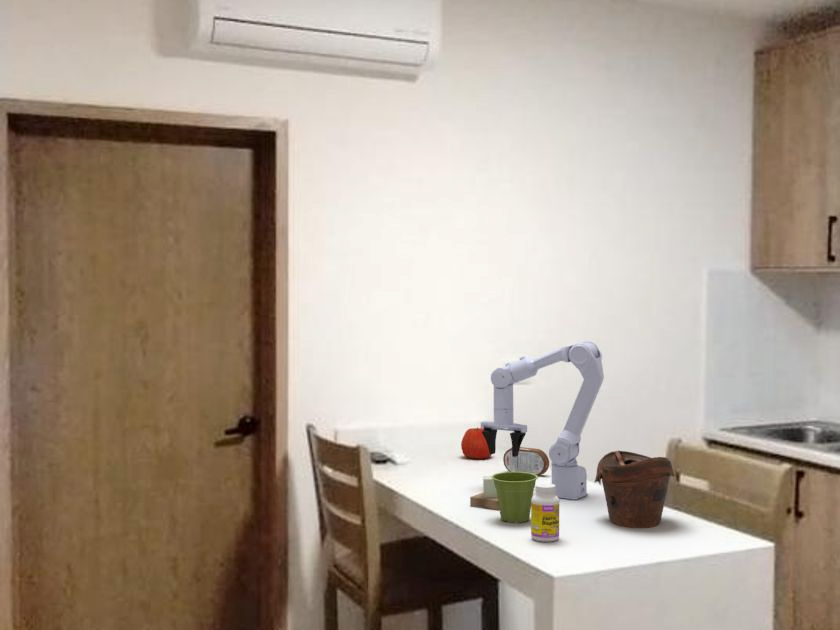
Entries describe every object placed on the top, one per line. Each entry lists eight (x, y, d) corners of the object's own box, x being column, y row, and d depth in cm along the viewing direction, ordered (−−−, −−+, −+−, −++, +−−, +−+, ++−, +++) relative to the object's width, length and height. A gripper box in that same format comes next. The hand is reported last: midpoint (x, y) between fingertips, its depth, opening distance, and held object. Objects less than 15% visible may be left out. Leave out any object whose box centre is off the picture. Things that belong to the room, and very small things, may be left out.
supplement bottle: (540, 543, 233) (540, 489, 232) (526, 537, 239) (525, 483, 238) (564, 540, 236) (564, 486, 235) (550, 534, 242) (550, 481, 241)
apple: (459, 460, 337) (459, 429, 337) (463, 454, 348) (463, 424, 347) (491, 461, 335) (491, 429, 335) (494, 455, 346) (494, 424, 346)
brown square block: (515, 505, 273) (515, 494, 273) (499, 512, 266) (499, 501, 266) (487, 501, 278) (487, 490, 278) (470, 508, 271) (470, 497, 271)
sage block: (499, 493, 274) (499, 475, 274) (500, 497, 270) (500, 479, 269) (483, 493, 274) (483, 475, 274) (483, 497, 270) (483, 479, 270)
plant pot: (483, 517, 259) (483, 474, 258) (523, 512, 263) (523, 470, 263) (505, 527, 248) (505, 482, 247) (546, 522, 253) (546, 478, 252)
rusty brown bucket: (605, 509, 266) (606, 442, 265) (681, 517, 257) (682, 448, 255) (584, 525, 250) (584, 454, 249) (664, 535, 241) (664, 461, 240)
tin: (549, 476, 310) (549, 449, 310) (545, 477, 308) (545, 450, 307) (506, 471, 318) (506, 445, 318) (502, 473, 316) (501, 446, 315)
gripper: (532, 408, 289) (532, 455, 290) (489, 405, 297) (489, 450, 298) (520, 411, 283) (520, 459, 284) (476, 408, 291) (476, 454, 292)
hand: (503, 455), depth 290 cm, fingers open, 7 cm apart
